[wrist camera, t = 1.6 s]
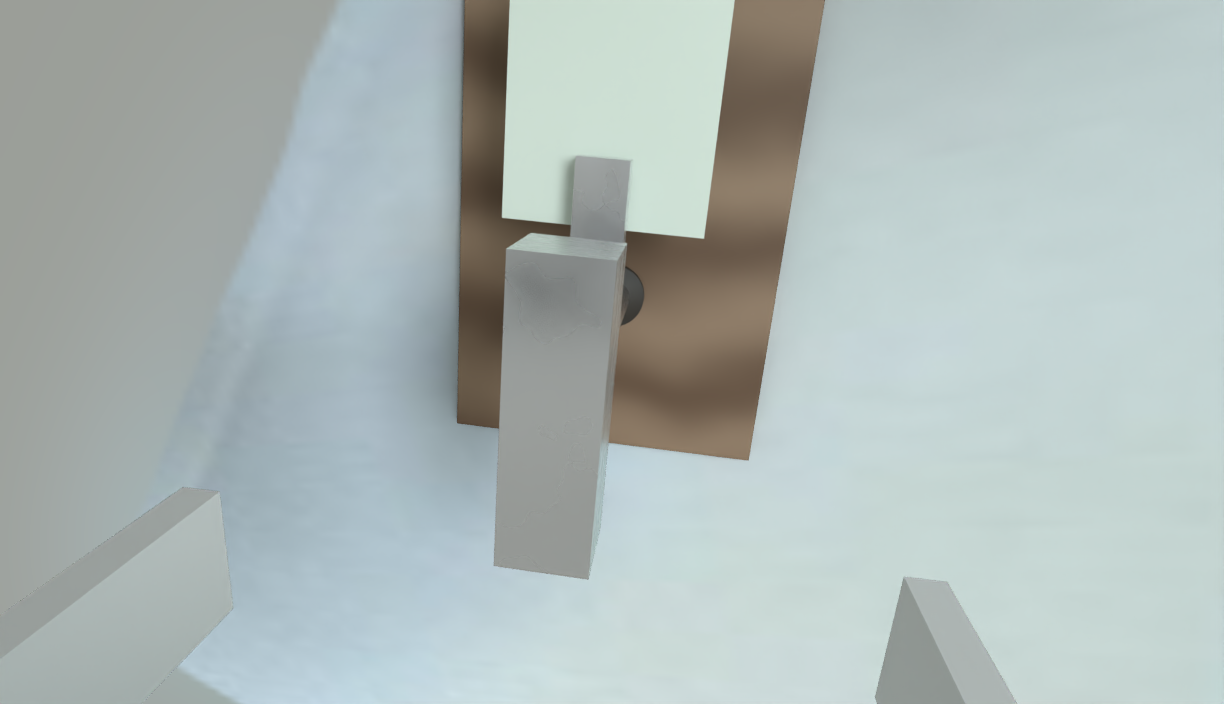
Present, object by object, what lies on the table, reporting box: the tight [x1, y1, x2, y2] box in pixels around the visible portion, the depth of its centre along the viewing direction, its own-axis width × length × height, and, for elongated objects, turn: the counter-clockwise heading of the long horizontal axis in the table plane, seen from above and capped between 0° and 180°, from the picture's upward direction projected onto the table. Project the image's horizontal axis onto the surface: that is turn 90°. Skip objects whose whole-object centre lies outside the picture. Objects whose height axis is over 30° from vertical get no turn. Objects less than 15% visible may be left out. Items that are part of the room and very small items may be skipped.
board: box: [457, 0, 825, 460], centre depth 35 cm, size 24×16×2 cm
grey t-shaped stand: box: [494, 155, 633, 579], centre depth 27 cm, size 12×3×16 cm, turn 175°
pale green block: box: [502, 0, 735, 239], centre depth 29 cm, size 10×8×8 cm
